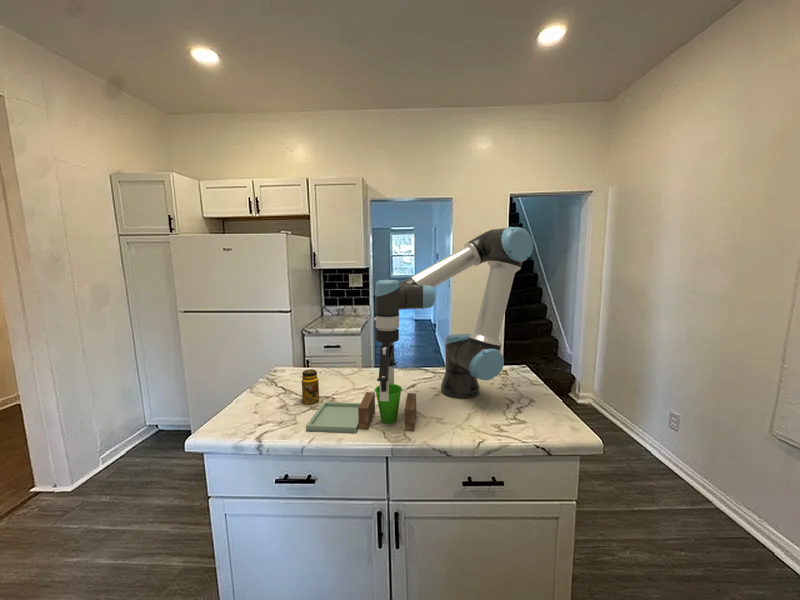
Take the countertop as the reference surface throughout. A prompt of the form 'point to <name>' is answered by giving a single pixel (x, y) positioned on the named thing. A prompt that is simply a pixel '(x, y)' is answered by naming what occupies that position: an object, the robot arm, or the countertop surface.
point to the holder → (368, 410)
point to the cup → (389, 404)
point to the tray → (335, 418)
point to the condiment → (310, 389)
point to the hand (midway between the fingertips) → (387, 392)
